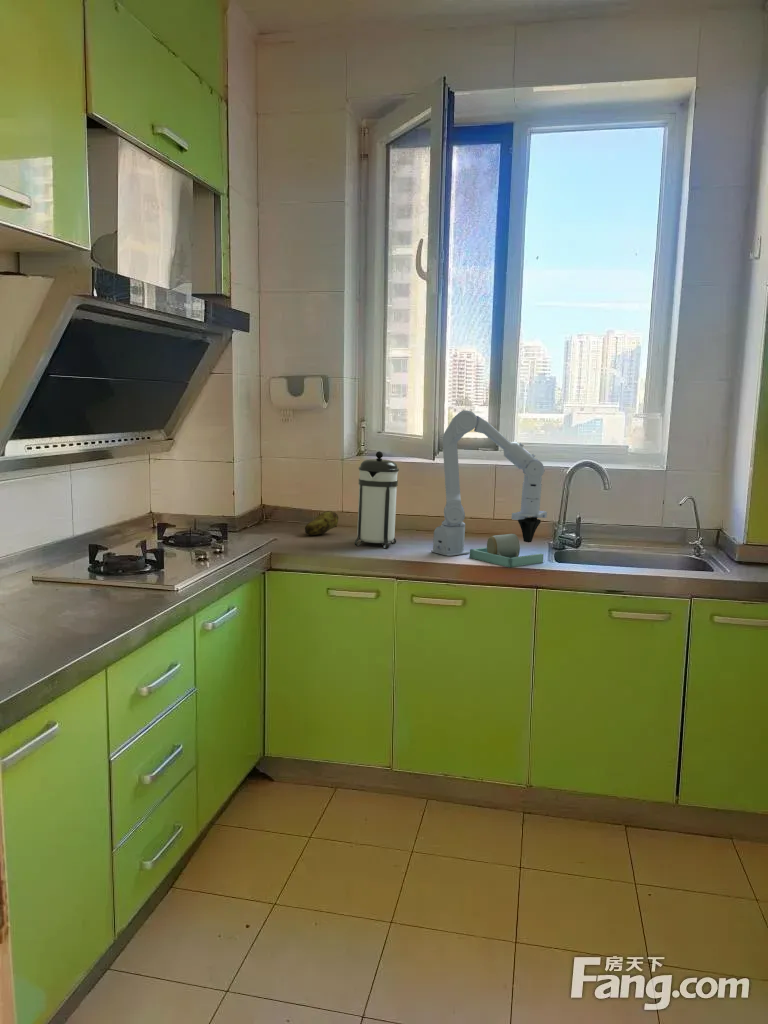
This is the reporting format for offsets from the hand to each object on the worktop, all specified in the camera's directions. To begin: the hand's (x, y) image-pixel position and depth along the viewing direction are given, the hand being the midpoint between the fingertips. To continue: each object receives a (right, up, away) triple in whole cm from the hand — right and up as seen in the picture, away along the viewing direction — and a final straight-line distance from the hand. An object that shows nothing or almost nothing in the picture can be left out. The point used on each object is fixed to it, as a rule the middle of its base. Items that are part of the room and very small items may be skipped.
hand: (527, 541), depth 238 cm
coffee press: (-47, -1, +12) cm, 49 cm away
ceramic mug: (-8, -5, -6) cm, 12 cm away
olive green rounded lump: (-66, +1, +24) cm, 70 cm away
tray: (-8, -5, -6) cm, 11 cm away
